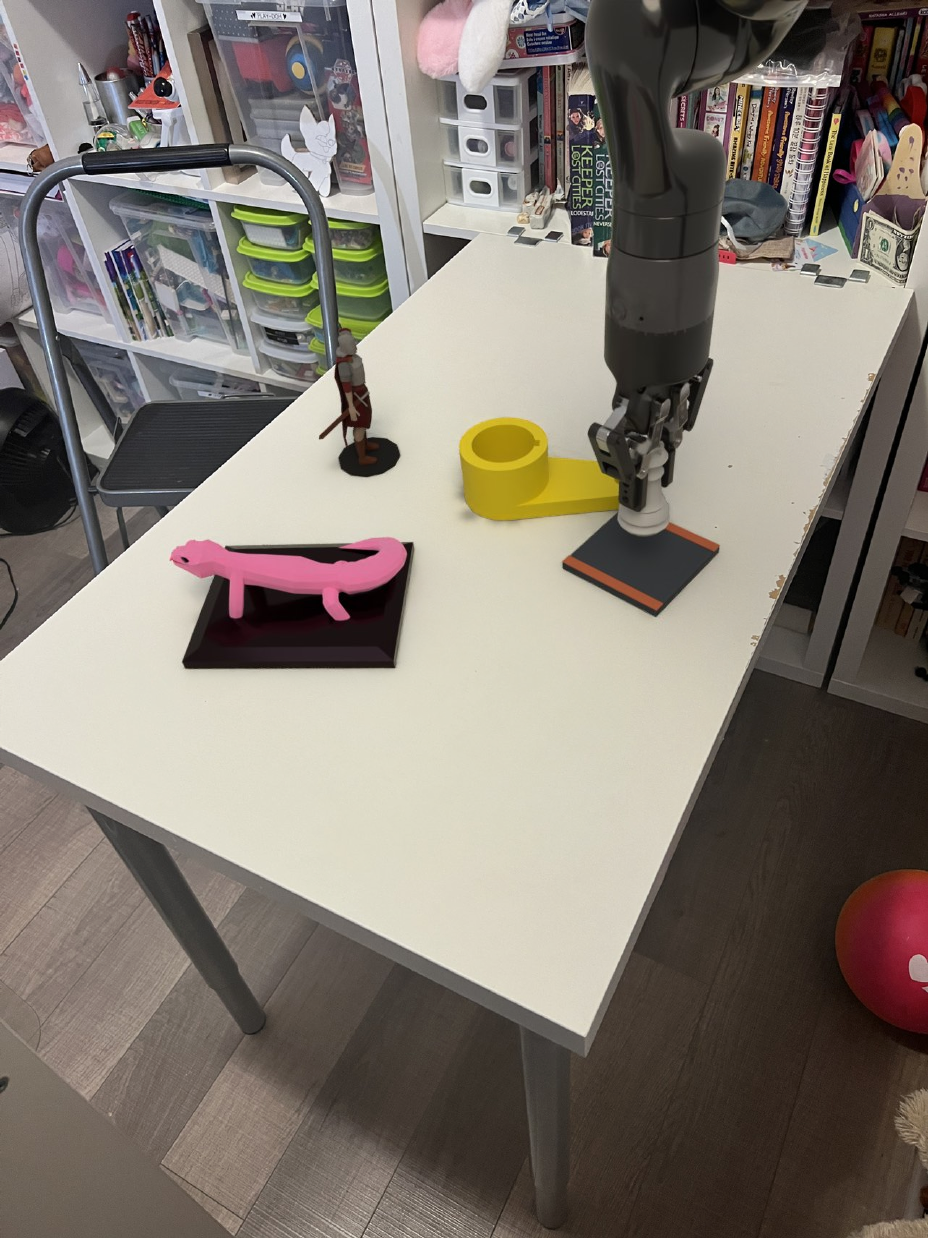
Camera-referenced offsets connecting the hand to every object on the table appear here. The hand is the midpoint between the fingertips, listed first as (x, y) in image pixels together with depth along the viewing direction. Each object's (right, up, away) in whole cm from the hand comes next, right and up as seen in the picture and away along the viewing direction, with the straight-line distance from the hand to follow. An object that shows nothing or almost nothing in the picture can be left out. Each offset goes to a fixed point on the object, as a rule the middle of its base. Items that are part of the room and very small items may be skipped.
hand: (645, 493), depth 74 cm
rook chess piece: (0, -2, +2) cm, 3 cm away
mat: (+1, -5, +6) cm, 8 cm away
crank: (-6, +2, +13) cm, 15 cm away
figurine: (-26, +7, +20) cm, 33 cm away
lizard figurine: (-30, -9, +6) cm, 32 cm away
